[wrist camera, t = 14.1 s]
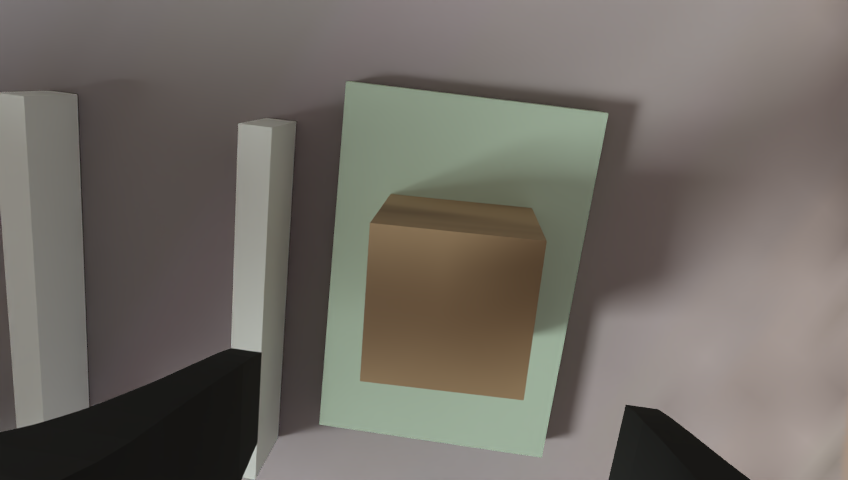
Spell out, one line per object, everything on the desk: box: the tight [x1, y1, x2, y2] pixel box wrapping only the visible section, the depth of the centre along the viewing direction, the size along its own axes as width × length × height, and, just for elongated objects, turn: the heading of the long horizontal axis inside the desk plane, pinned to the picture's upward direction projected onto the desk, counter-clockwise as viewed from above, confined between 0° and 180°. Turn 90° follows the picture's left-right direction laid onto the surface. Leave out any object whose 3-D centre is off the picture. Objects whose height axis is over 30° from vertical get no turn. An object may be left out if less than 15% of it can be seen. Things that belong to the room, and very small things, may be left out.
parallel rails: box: [0, 91, 296, 479], centre depth 20 cm, size 12×8×2 cm
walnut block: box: [360, 194, 547, 400], centre depth 18 cm, size 4×4×4 cm
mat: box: [319, 81, 608, 458], centre depth 20 cm, size 12×8×1 cm, turn 174°
